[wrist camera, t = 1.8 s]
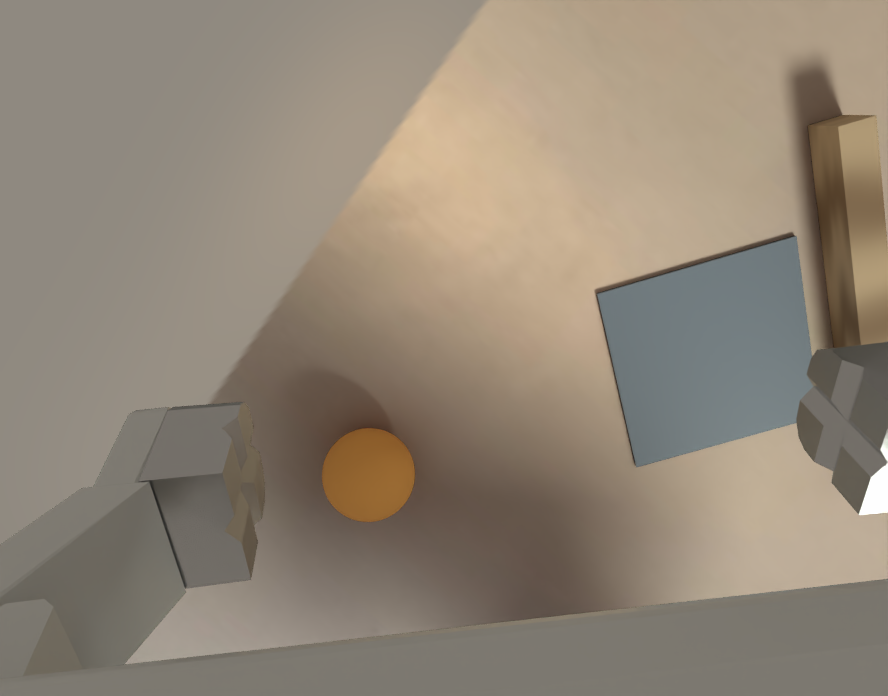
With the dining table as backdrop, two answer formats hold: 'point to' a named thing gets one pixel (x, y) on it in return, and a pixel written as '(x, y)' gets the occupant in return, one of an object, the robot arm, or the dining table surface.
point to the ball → (368, 475)
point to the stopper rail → (852, 227)
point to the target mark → (710, 350)
